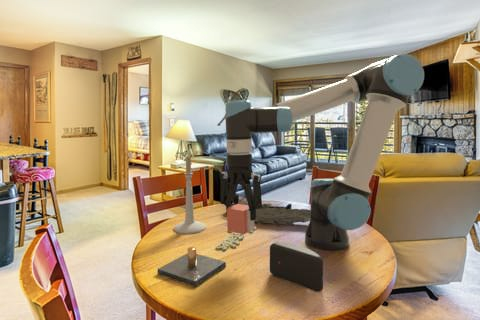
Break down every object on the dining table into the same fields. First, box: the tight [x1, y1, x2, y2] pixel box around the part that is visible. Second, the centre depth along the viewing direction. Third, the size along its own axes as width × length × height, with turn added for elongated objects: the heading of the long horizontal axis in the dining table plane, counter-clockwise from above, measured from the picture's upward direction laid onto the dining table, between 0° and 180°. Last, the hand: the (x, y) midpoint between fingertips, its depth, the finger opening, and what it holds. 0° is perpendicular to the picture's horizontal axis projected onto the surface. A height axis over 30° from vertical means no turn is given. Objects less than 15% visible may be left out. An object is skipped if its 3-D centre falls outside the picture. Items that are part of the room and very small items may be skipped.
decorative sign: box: [215, 225, 257, 252], centre depth 120 cm, size 26×1×10 cm
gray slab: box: [157, 246, 227, 288], centre depth 93 cm, size 14×14×6 cm
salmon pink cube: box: [226, 204, 249, 235], centre depth 98 cm, size 6×6×7 cm
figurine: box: [232, 194, 292, 209], centre depth 149 cm, size 20×9×30 cm
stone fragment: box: [254, 208, 311, 226], centre depth 135 cm, size 31×9×5 cm
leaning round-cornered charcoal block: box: [269, 242, 324, 292], centre depth 87 cm, size 16×5×9 cm, turn 49°
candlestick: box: [173, 155, 207, 235], centre depth 129 cm, size 13×13×30 cm
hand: (241, 228), depth 98 cm, fingers closed on salmon pink cube, 6 cm apart
